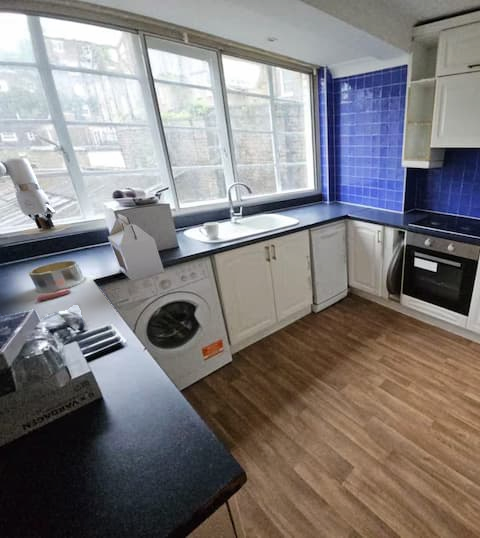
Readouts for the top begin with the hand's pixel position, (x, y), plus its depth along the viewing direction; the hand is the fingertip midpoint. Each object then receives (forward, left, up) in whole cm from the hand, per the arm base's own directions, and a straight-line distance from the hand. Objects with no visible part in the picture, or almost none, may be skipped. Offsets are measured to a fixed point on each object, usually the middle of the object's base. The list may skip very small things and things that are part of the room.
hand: (46, 227), depth 137 cm
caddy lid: (0, 0, -1) cm, 1 cm away
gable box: (+38, -3, -23) cm, 45 cm away
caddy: (+9, -14, -23) cm, 29 cm away
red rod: (+17, -27, -23) cm, 40 cm away
